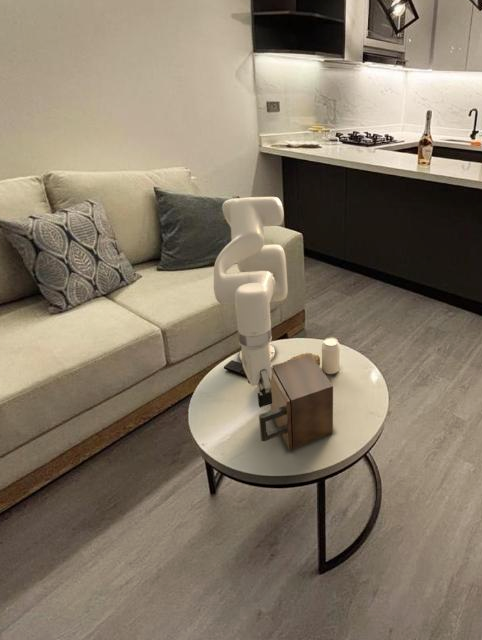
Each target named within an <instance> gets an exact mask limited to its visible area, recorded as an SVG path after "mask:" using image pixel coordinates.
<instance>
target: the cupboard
mask: <svg viewBox="0 0 482 640" xmlns="http://www.w3.org/2000/svg"><path fill="white" fill-rule="evenodd" d="M289 360H290V359H289ZM286 361H287V360H286ZM271 367H272V369H273V370H274V372H275V374H276V376H277V378H278V380H279V382H280V383H281V385H282V387H283V389H284V391H285V393H286V394H287V396H288V398H289V400H290V408H291V431H292V450H294V449H296V448H299V447H301V446H304V445H307V444H308V443H309V444H310V443H311V442H313V441H316V440H319V439H321V438H324V437H327V436H329V435H331V434H333V433H334V385H333V384H332V382H331V381H330V380H329V378H328V377H327V375H326V373H325V372H324V371H323V370H322V367H321V366H319V365H318V364H317V363H316V361H315V360H314V358H313V357H312V356H311V355H307V356H304V357H300V358H297V359H293V360H290V361H287V362H285V361H284V362H280V363H276V364H273V365H271Z"/></svg>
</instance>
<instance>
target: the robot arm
mask: <svg viewBox="0 0 482 640" xmlns="http://www.w3.org/2000/svg"><path fill="white" fill-rule="evenodd" d="M221 210H222V215H223V217H224V219H225V221H226V223H227V224H228V226H229V227H230V233H231V234H230V237H231V238H230V239H231V241H229V242H228V243H227V244H226V245H225V246H224V247H223V248H222V250H221V251H220V252H219V253H218V255H217V257H216V259H215V262H214V266H213V293H214V297H215V300H216V302H218V303H219V304H221V305H225V306H228V305H235V306H234V307H235V316H236V325H237V326H236V327H237V334H238V335H237V337H238V344H239V345H240V347H241V350H240V352H239V355H238V356H239V360H240V362H241V364H242V369H243V371H244V373H245V376H246V378H247V383H248V384H250V385H251V386H252V387H255V386H256V387H257V390H258V392H257V403H258V404H257V405H258V408H260V409H261V408H263V407H266V406H271V404H272V390H271V385H270V382H269V381H270V380H271V378H272V372H271V367H272V361H271V360H273V358H274V357H275V355H276V349H275V347H274V346H273V345H271V342H272V340H273V336H272V334H273V333H272V318H271V305H270V304H271V303H276V302H282V301H284V300H285V299H287V296H288V291H289V290H288V289H289V288H288V274H287V273H288V272H287V259H286V252H285V250H284V248H283V246H282V245H280V244H265V242H266V241H265V233H264V232H265V231H264V227H279V226H281V225H282V224H283V223H284V217H285V214H284V213H285V212H284V211H285V210H284V207H283V203H282V201H281V199H280V198H279V197H276V196H251V197H238V198H230V199H227V200H225V201H224V202H223V203H222V205H221ZM236 264H237V269H238V271H239V272H230V273H229V272H228V270H229V269H230V268H231V267H233V266H234V265H236ZM261 384H262V385H263V388H262V386H261Z"/></svg>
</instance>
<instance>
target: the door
mask: <svg viewBox="0 0 482 640" xmlns="http://www.w3.org/2000/svg"><path fill="white" fill-rule="evenodd" d="M271 372H272V378H271V380H270V381H269V382H270V385H271V390H272V404H270V410H268V411H266V412H263V413H261V414H259V416H258V421H259V434H260V441H261V442H266V441H269V440H272V439H275V438H277V437H280V436H282V438H283V441H284V443H285V445H286V447H287V449H288V451H291V450H293V447H292V431H291V408H290V400H289V398H288V396H287V394H286V393H285V391H284V389H283V387H282V385H281V383H280V382H279V380H278V378H277V376H276V374H275V372H274V370H273V369H272V366H271ZM272 420H274V422H275V424H276V427H274V428H272V429H269V430H267V422H270V421H272Z"/></svg>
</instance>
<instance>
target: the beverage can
mask: <svg viewBox="0 0 482 640" xmlns="http://www.w3.org/2000/svg"><path fill="white" fill-rule="evenodd" d="M340 361H341V345H340V342H339V340H338V338H335V337H332V336H331V337H327V338H325V339H324V340H323V342H322V344H321V370H322V371H323V373H324V374H328V375H334V374H336V373H338V372H339V371H340V365H341V362H340Z"/></svg>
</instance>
